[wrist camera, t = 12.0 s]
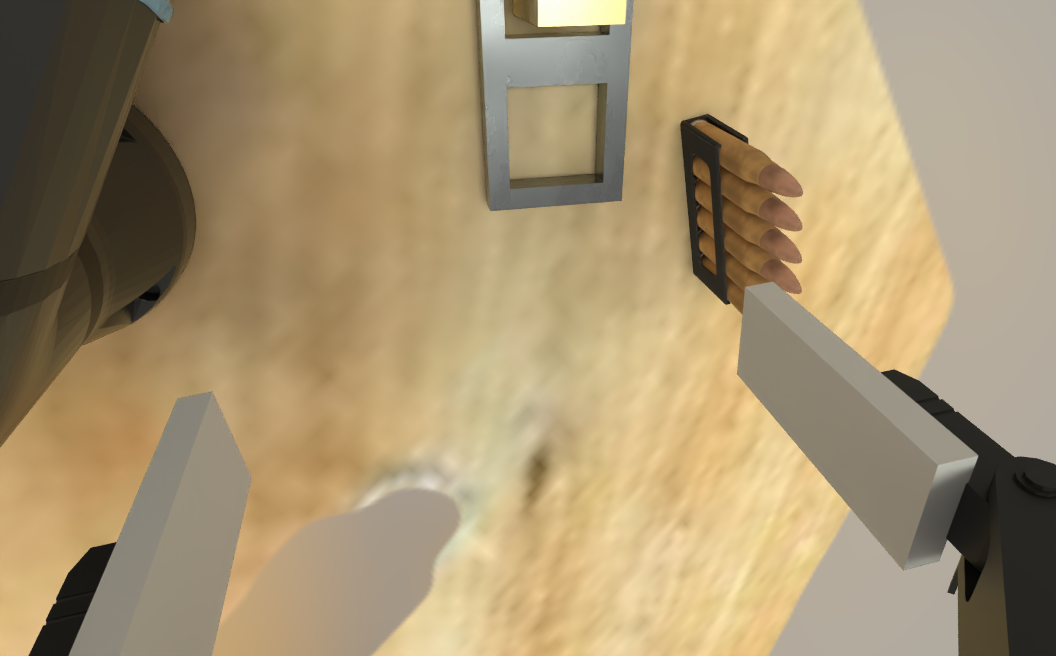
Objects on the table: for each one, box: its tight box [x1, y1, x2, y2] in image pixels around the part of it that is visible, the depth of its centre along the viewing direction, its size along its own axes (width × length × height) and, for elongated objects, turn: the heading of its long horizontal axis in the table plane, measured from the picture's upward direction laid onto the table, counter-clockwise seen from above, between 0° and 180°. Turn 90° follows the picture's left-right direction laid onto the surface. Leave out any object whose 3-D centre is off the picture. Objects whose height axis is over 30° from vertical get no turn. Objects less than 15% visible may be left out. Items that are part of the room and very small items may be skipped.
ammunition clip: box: [681, 114, 803, 315], centre depth 37 cm, size 11×2×12 cm, turn 13°
